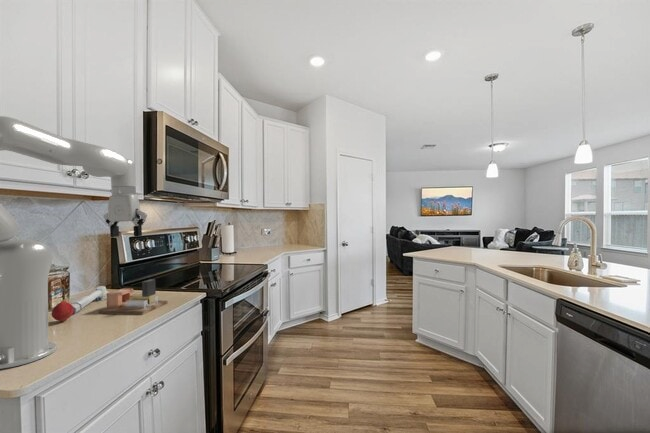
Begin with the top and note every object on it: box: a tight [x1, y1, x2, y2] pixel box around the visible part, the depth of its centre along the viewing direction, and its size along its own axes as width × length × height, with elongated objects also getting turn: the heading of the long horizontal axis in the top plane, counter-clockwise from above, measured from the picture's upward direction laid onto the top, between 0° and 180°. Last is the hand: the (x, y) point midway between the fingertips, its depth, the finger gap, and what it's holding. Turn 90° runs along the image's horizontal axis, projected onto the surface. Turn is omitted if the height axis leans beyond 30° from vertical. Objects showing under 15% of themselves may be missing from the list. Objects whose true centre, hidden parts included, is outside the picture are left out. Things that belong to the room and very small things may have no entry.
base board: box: [98, 299, 168, 315], centre depth 114 cm, size 14×19×1 cm
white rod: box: [70, 285, 110, 316], centre depth 118 cm, size 5×7×25 cm
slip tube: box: [130, 278, 157, 304], centre depth 113 cm, size 4×9×9 cm, turn 83°
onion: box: [51, 299, 74, 323], centre depth 99 cm, size 6×6×8 cm
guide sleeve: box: [126, 295, 159, 309], centre depth 113 cm, size 8×8×3 cm
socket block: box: [106, 287, 135, 308], centre depth 114 cm, size 8×5×6 cm, turn 173°
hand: (126, 236), depth 105 cm, fingers open, 9 cm apart
